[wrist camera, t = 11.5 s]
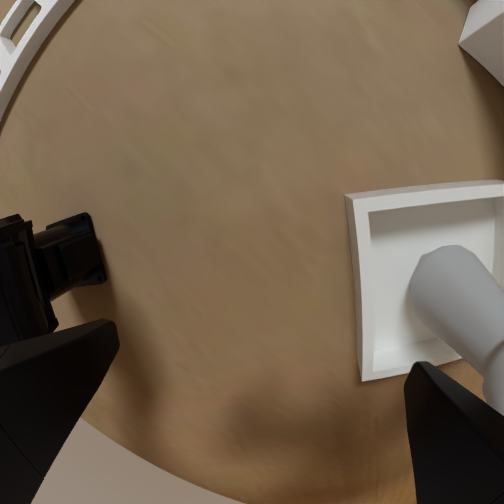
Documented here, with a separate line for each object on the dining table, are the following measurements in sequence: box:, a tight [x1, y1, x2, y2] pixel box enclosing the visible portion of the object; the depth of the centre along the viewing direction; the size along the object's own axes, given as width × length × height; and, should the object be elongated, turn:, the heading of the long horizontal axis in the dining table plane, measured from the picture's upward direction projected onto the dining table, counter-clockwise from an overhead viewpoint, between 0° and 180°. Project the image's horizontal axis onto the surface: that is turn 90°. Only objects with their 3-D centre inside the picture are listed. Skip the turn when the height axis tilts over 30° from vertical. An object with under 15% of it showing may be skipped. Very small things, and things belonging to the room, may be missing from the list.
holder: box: [0, 0, 75, 121], centre depth 16 cm, size 45×18×3 cm, turn 134°
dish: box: [344, 179, 504, 381], centre depth 17 cm, size 13×13×3 cm
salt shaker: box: [410, 245, 504, 416], centre depth 11 cm, size 6×6×13 cm
